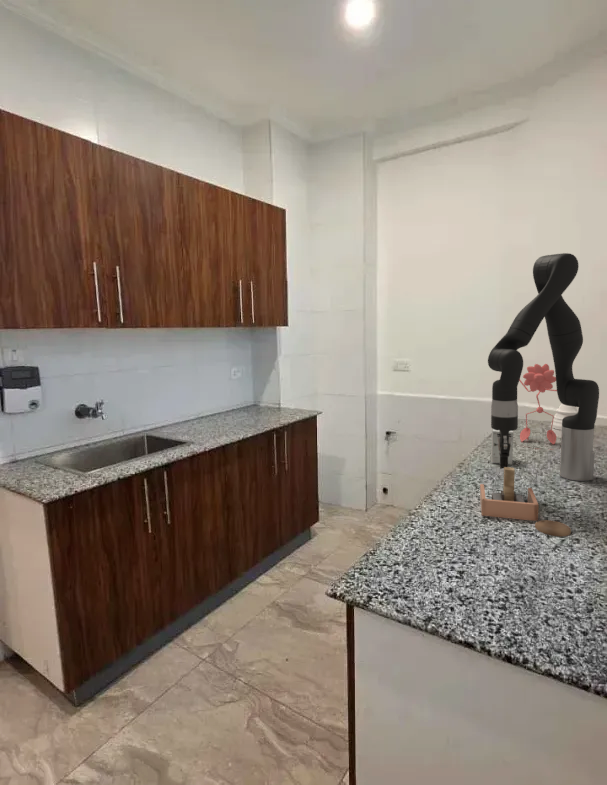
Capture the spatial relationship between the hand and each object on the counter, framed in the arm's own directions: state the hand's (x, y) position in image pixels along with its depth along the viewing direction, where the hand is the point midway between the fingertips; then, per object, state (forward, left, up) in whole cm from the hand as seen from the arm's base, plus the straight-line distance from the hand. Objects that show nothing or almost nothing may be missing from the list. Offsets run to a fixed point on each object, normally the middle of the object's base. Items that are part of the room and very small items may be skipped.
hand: (503, 467), depth 140 cm
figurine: (-18, -61, -8) cm, 65 cm away
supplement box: (-2, -32, -8) cm, 33 cm away
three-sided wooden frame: (0, +15, -8) cm, 16 cm away
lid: (-10, +26, -8) cm, 29 cm away
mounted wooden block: (0, +15, -8) cm, 17 cm away
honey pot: (-33, -81, -8) cm, 88 cm away
